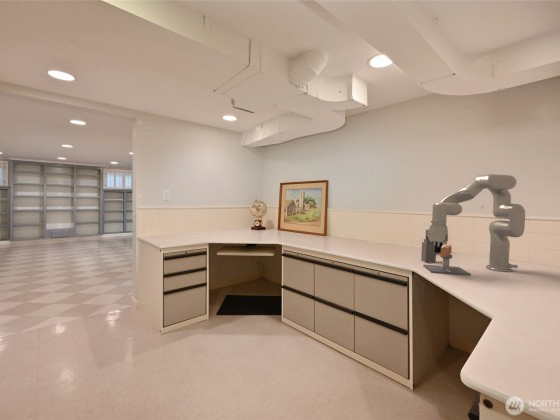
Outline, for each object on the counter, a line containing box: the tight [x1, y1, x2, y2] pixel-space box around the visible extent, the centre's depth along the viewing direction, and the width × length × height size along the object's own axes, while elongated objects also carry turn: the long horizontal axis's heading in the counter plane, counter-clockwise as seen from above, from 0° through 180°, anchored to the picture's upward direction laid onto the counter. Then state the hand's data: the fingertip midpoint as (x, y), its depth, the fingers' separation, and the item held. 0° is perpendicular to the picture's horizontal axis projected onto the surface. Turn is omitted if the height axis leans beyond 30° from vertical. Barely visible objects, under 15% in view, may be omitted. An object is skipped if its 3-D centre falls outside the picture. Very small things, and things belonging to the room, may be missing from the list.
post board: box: [422, 258, 472, 276], centre depth 162 cm, size 21×16×8 cm
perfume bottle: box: [420, 236, 437, 264], centre depth 184 cm, size 7×7×18 cm
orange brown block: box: [439, 244, 453, 259], centre depth 161 cm, size 16×6×7 cm, turn 136°
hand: (437, 252), depth 159 cm, fingers closed
